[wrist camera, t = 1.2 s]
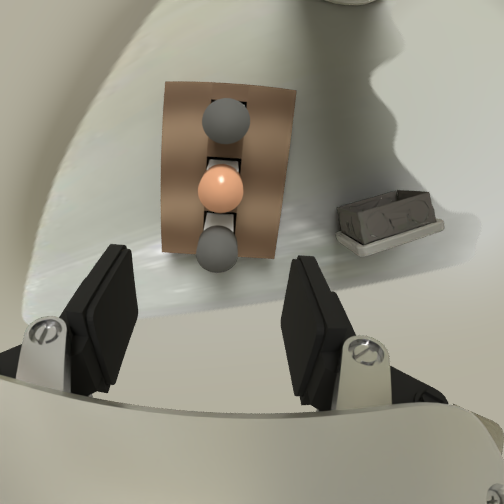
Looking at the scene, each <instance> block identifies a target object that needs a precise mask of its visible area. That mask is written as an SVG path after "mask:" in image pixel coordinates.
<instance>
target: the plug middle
mask: <svg viewBox="0 0 504 504" xmlns="http://www.w3.org/2000/svg"><path fill="white" fill-rule="evenodd" d="M238 171H239V169H238V161H230V160H214V159H210V161H209V164H208V166H207V170H206V171H205V173H204V174H203V176H202V178H201V181H200V183H199V187H198V196H199V199H200V201H201V203H202V204H203V206H204V207H206V208H207V209H208V210H210V211H212V212H216V213H225V212H229V211H231V210H233V209H234V208H236V207H237V206H238V205H239V203H240V202H241V200H242V197H243V183H242V178H241V175H240V174H239V172H238Z"/></svg>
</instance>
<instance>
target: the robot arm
mask: <svg viewBox="0 0 504 504" xmlns="http://www.w3.org/2000/svg"><path fill="white" fill-rule="evenodd" d="M325 1H328V2H332V3H335V4H342V5H362V4H368V3H370V2H373V1H375V0H325ZM137 317H138V305H137V298H136V290H135V281H134V272H133V263H132V253H131V250H130V249H127V247H126V245H117V244H110V245H109V247H108V248H107V249H106V251H105V252H104V253H103V255H102V256H101V258H100V259H99V260H98V262H97V263H96V265H95V266H94V267H93V269H92V270H91V272H90V273H89V275H88V276H87V277H86V278H85V279H84V280H83V282H82V283H81V285H80V286H79V288H78V289H77V291H76V292H75V294H74V295H73V297H72V298H71V300H70V301H69V303H68V304H67V306H66V308H65V309H64V311H63V312H62V314H61V315H60V317H59V318H58V317H55V316H46V317H41V318H39V319H37V320H35V321H33V322H32V323H31V324H30V325H29V326H28V327H27V329H26V331H25V334H24V338H23V342H22V344H21V345H18V346H16V347H14V348H11V349H9V350H7V351H4V352H2V353H0V504H504V459H503V457H502V450H503V443H504V433H503V431H502V428H501V427H500V426H499V425H498V424H497V423H495V422H494V421H492V420H489V419H487V418H485V417H483V416H480V415H478V414H476V413H473V412H471V411H469V410H466V409H464V408H462V407H460V406H457V405H455V404H453V405H449V404H448V401H447V400H446V398H445V396H444V395H443V394H442V393H441V392H439V391H438V390H436V389H435V388H433V387H431V386H429V385H427V384H425V383H423V382H421V381H419V380H417V379H415V378H413V377H411V376H409V375H407V374H405V373H403V372H401V371H399V370H397V369H396V368H394V367H392V366H390V360H389V353H388V351H387V349H386V348H385V346H384V345H383V344H382V343H381V342H380V341H378V340H376V339H374V338H372V337H368V336H361V335H358V336H356V334H355V332H354V330H353V328H352V325H351V323H350V321H349V319H348V317H347V315H346V313H345V310H344V308H343V306H342V304H341V302H340V300H339V298H338V296H337V294H336V293H335V292H331V291H330V289H329V286H328V284H327V282H326V280H325V278H324V276H323V274H322V272H321V270H320V267H319V265H318V263H317V261H316V259H315V257H314V256H300V255H299V256H298V257H297V259H293V260H292V262H291V268H290V273H289V279H288V284H287V290H286V295H285V300H284V305H283V311H282V316H281V330H282V335H283V339H284V345H285V350H286V355H287V360H288V365H289V370H290V375H291V380H292V385H293V391H294V395H295V396H300V400H301V405H312V406H313V407H315V408H317V410H316V412H303V413H279V414H278V413H275V414H242V413H238V414H237V413H213V412H195V411H184V410H172V409H163V408H155V407H146V406H139V405H132V404H125V403H119V402H113V401H107V400H102V399H97V398H93V396H92V393H94V392H96V391H98V392H104V393H108V391H109V388H110V385H114V384H115V383H116V380H117V377H118V374H119V370H120V367H121V364H122V361H123V358H124V355H125V352H126V349H127V346H128V343H129V340H130V337H131V335H132V332H133V329H134V326H135V323H136V321H137Z"/></svg>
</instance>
